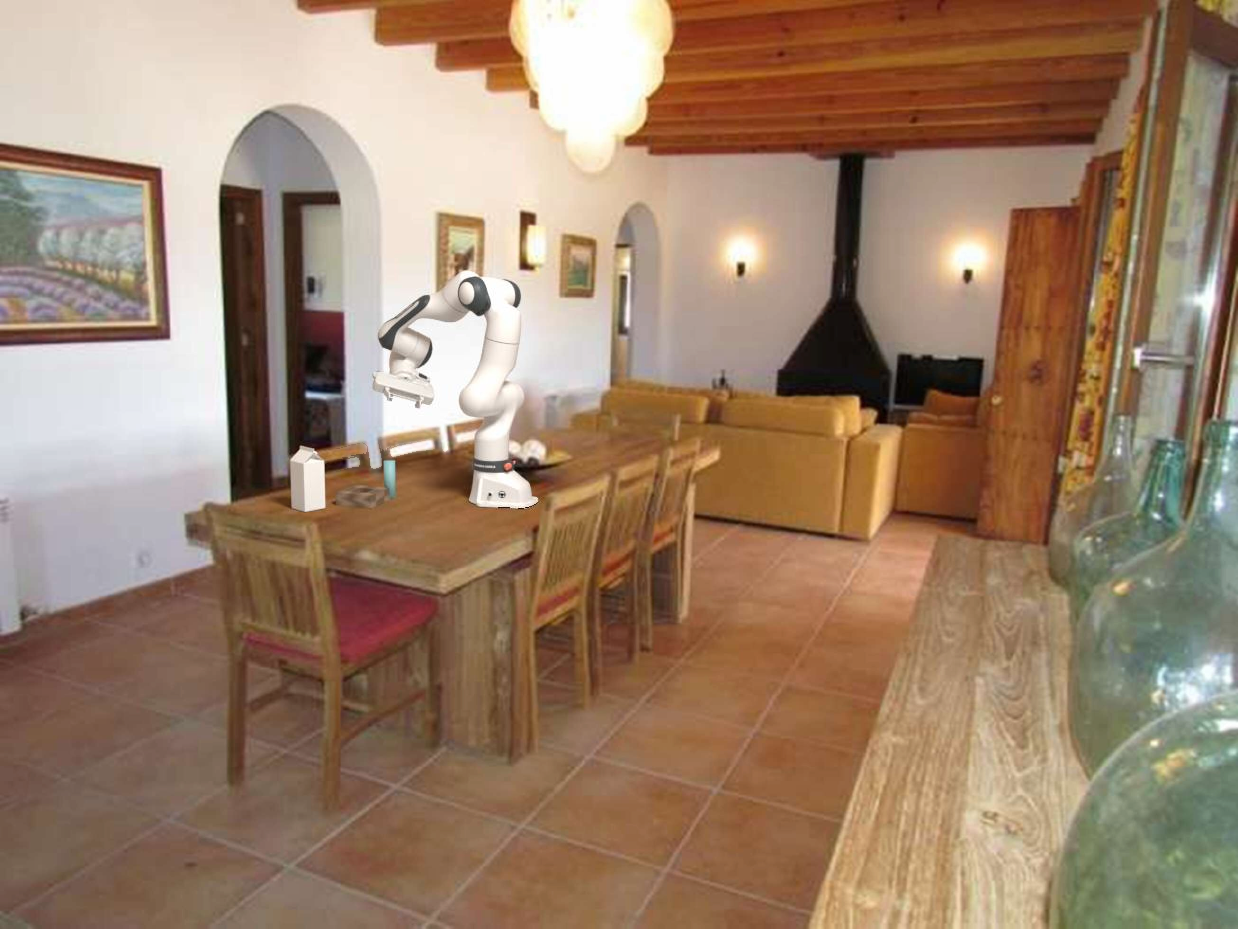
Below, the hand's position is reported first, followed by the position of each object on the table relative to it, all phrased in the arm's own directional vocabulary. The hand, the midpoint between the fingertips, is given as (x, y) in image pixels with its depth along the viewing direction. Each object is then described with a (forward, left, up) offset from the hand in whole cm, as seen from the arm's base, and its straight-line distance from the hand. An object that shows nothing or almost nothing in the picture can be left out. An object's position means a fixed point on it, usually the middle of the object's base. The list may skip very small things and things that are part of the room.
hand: (404, 403), depth 286 cm
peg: (+2, +7, -30) cm, 31 cm away
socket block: (+6, +17, -30) cm, 35 cm away
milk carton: (+17, +30, -30) cm, 46 cm away
